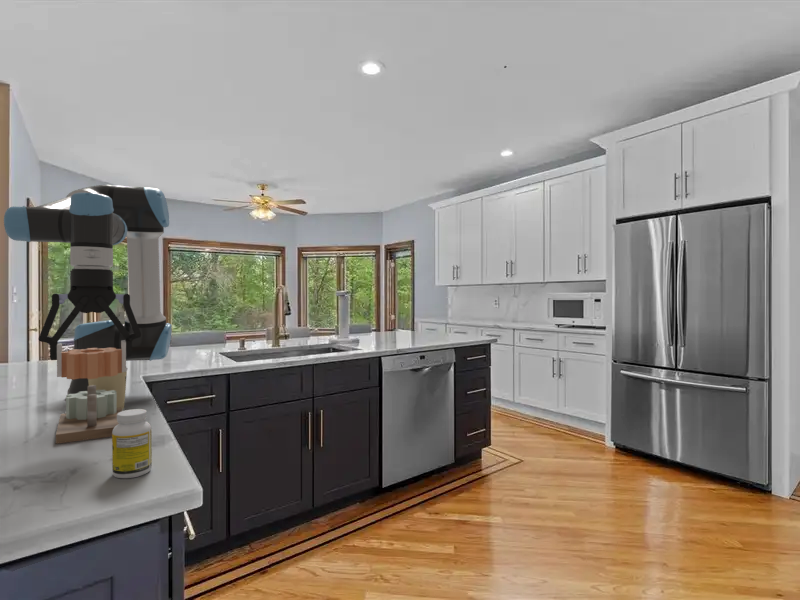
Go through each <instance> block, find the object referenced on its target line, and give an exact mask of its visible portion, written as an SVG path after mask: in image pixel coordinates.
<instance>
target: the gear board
mask: <svg viewBox="0 0 800 600" xmlns="http://www.w3.org/2000/svg"><path fill="white" fill-rule="evenodd" d="M122 411H123V410H122V408H117V412H116V413H115V414H108V415H106V417H101V418H97V394H96V385H91V386H88V395H87V419H86V420H78V419H77V418H73V419H67V418H66V412H65V413H60V415H59V419H58V424H57V428H56V433H55V445H56V444H57V445H58V444H66V443H73V442H80V441H88V440H96V439H103V438H110V437H111V438H112V431H113V429H114V427H115V426H117V425H118V424H119V423H118V422H117V414H118V413H119V412H122Z"/></svg>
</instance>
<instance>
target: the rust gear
mask: <svg viewBox="0 0 800 600" xmlns="http://www.w3.org/2000/svg"><path fill="white" fill-rule="evenodd" d="M118 373H122V349H116V348H87V349H81V350H79V349H69V350H67V351H62V377H61V378H66V380H72V379H79V378H87V379H96V378H98V377H104V376H110V377H111V376H115V375H118Z"/></svg>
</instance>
